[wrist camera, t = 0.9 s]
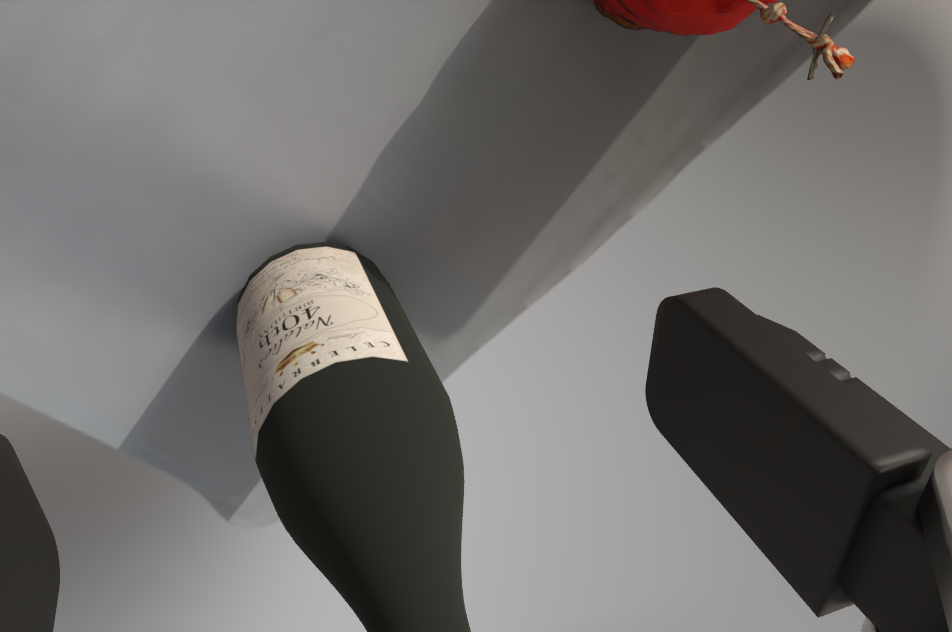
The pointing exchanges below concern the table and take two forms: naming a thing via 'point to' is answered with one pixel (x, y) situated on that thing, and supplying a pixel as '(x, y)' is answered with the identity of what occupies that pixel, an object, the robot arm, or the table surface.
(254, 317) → the wine bottle
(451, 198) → the table surface
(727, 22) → the red rounded body
